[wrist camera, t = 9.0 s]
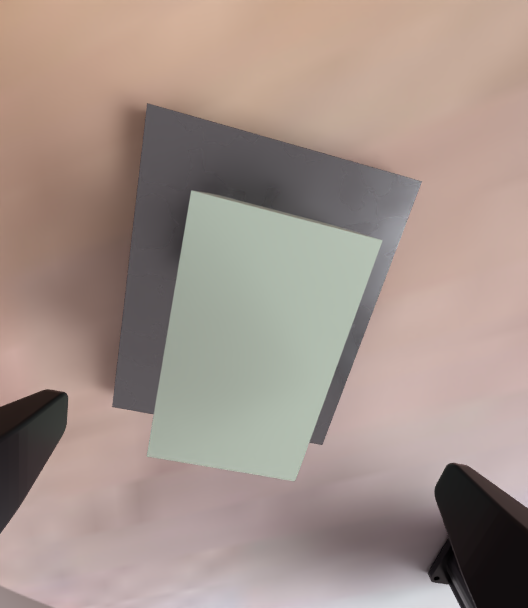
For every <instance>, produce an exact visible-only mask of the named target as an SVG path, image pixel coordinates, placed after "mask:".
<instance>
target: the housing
mask: <svg viewBox="0 0 528 608" xmlns="http://www.w3.org/2000/svg"><path fill="white" fill-rule="evenodd" d="M382 241H383V240H380V239H377V238H373V237H370V236H367V235H364V234H360V233H357V232H354V231H351V230H348V229H344V228H341V227H338V226H335V225H331V224H327V223H323V222H320V221H316V220H312V219H308V218H304V217H300V216H297V215H293V214H289V213H285V212H281V211H278V210H274V209H270V208H266V207H262V206H258V205H255V204H251V203H247V202H243V201H239V200H236V199H232V198H228V197H224V196H220V195H216V194H211V193H204V192H198V191H192V190H191V195H190V201H189V207H188V213H187V219H186V225H185V231H184V237H183V243H182V249H181V255H180V261H179V267H178V272H177V278H176V284H175V290H174V296H173V302H172V308H171V314H170V320H169V326H168V332H167V338H166V344H165V350H164V356H163V362H162V368H161V374H160V380H159V386H158V392H157V398H156V404H155V410H154V416H153V422H152V428H151V434H150V440H149V446H148V452H147V457H153V458H159V459H165V460H171V461H177V462H183V463H189V464H194V465H200V466H206V467H212V468H218V469H224V470H230V471H236V472H242V473H248V474H254V475H260V476H266V477H272V478H278V479H284V480H290V481H295V480H296V477H297V475H298V472H299V469H300V466H301V464H302V461H303V458H304V455H305V453H306V450H307V447H308V444H309V442H310V439H311V436H312V433H313V431H314V428H315V425H316V422H317V420H318V417H319V414H320V411H321V409H322V406H323V403H324V400H325V398H326V395H327V392H328V389H329V387H330V384H331V381H332V378H333V376H334V373H335V370H336V367H337V365H338V362H339V359H340V356H341V354H342V351H343V348H344V345H345V343H346V340H347V337H348V334H349V332H350V329H351V326H352V323H353V321H354V318H355V315H356V312H357V310H358V307H359V304H360V301H361V299H362V296H363V293H364V290H365V288H366V285H367V282H368V279H369V277H370V274H371V271H372V268H373V266H374V263H375V260H376V257H377V255H378V252H379V249H380V246H381V244H382Z"/></svg>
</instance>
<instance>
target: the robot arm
mask: <svg viewBox="0 0 528 608" xmlns="http://www.w3.org/2000/svg"><path fill="white" fill-rule="evenodd" d="M67 410H68V395H67V394H66V393H65V392H61V391H55V390H49V389H46V390H43V391H40V392H37V393H35V394H32V395H30V396H27V397H25V398H22V399H19V400H17V401H14V402H12V403H9V404H6V405H4V406H1V407H0V533H1V532H2V531H3V529H4V528H5V527H6V525H7V524H8V523H9V521H10V520H11V518H12V517H13V515H14V514H15V513H16V511H17V510H18V508H19V507H20V505H21V504H22V502H23V500H24V499H25V497H26V496H27V494H28V492H29V491H30V489H31V487H32V486H33V484H34V482H35V481H36V479H37V477H38V476H39V474H40V472H41V471H42V469H43V467H44V466H45V464H46V462H47V461H48V459H49V457H50V456H51V454H52V452H53V451H54V449H55V447H56V445H57V444H58V442H59V440H60V439H61V437H62V435H63V433H64V431H65V428H66V425H67ZM435 499H436V502H437V505H438V508H439V511H440V513H441V516H442V519H443V522H444V525H445V528H446V531H447V534H448V537H449V539H448V541H447V542H446V544H445V546H444V547H443V549H442V551H441V552H440V554H439V556H438V557H437V559H436V561H435V562H434V564H433V566H432V567H431V569H430V571H429V572H428V575H429V577H430V580H431V581H432V582H435V583H442V584H449V585H450V587H451V589H452V591H453V593H454V595H455V597H456V599H457V601H458V603H459V605H460V607H461V608H528V508H527V507H525V506H524V505H522V504H521V503H520V502H518V501H517V500H515V499H514V498H513V497H511V496H510V495H508V494H507V493H506V492H504V491H503V490H501V489H500V488H499V487H497V486H496V485H494V484H493V483H492V482H490V481H489V480H487V479H486V478H485V477H483V476H482V475H480V474H479V473H478V472H476V471H475V470H473V469H472V468H471V467H469V466H467V465H463V464H457V463H450V464H448V465H447V466H446V468H445V469H444V471H443V473H442V475H441V477H440V479H439V481H438V482H437V484H436V486H435Z"/></svg>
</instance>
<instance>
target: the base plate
mask: <svg viewBox="0 0 528 608" xmlns="http://www.w3.org/2000/svg"><path fill="white" fill-rule="evenodd" d="M421 183H422V181H419V180H415V179H412V178H408V177H405V176H401V175H397V174H394V173H390V172H387V171H383V170H380V169H376V168H373V167H369V166H366V165H362V164H359V163H355V162H352V161H348V160H345V159H341V158H338V157H334V156H331V155H327V154H324V153H320V152H317V151H313V150H310V149H306V148H303V147H299V146H296V145H292V144H289V143H285V142H282V141H278V140H274V139H271V138H267V137H264V136H260V135H257V134H253V133H250V132H246V131H243V130H239V129H236V128H232V127H229V126H225V125H222V124H218V123H215V122H211V121H208V120H204V119H201V118H197V117H194V116H190V115H187V114H183V113H180V112H176V111H173V110H169V109H166V108H162V107H158V106H155V105H151V104H148V103H147V110H146V119H145V128H144V136H143V145H142V154H141V162H140V171H139V180H138V188H137V197H136V206H135V214H134V223H133V232H132V240H131V249H130V258H129V267H128V275H127V284H126V293H125V301H124V310H123V319H122V327H121V336H120V345H119V353H118V362H117V371H116V380H115V388H114V397H113V406H112V407H116V408H121V409H127V410H132V411H138V412H144V413H149V414H154V410H155V404H156V398H157V392H158V386H159V380H160V374H161V368H162V362H163V356H164V350H165V344H166V338H167V332H168V326H169V320H170V314H171V308H172V302H173V296H174V290H175V284H176V278H177V272H178V267H179V261H180V255H181V249H182V243H183V237H184V231H185V225H186V219H187V213H188V207H189V201H190V195H191V190H192V191H198V192H204V193H211V194H216V195H220V196H224V197H228V198H232V199H236V200H239V201H243V202H247V203H251V204H255V205H258V206H262V207H266V208H270V209H274V210H278V211H281V212H285V213H289V214H293V215H297V216H300V217H304V218H308V219H312V220H316V221H320V222H323V223H327V224H331V225H335V226H338V227H341V228H344V229H348V230H351V231H354V232H357V233H360V234H364V235H367V236H370V237H373V238H377V239H380V240H383V241H382V244H381V246H380V249H379V252H378V255H377V257H376V260H375V263H374V266H373V268H372V271H371V274H370V277H369V279H368V282H367V285H366V288H365V290H364V293H363V296H362V299H361V301H360V304H359V307H358V310H357V312H356V315H355V318H354V321H353V323H352V326H351V329H350V332H349V334H348V337H347V340H346V343H345V345H344V348H343V351H342V354H341V356H340V359H339V362H338V365H337V367H336V370H335V373H334V376H333V378H332V381H331V384H330V387H329V389H328V392H327V395H326V398H325V400H324V403H323V406H322V409H321V411H320V414H319V417H318V420H317V422H316V425H315V428H314V431H313V433H312V436H311V439H310V442H309V443H314V444H320V445H322V444H323V442H324V439H325V436H326V434H327V431H328V428H329V426H330V423H331V420H332V418H333V415H334V413H335V410H336V407H337V405H338V402H339V399H340V397H341V394H342V391H343V389H344V386H345V383H346V381H347V378H348V375H349V373H350V370H351V368H352V365H353V362H354V360H355V357H356V354H357V352H358V349H359V346H360V344H361V341H362V338H363V336H364V333H365V331H366V328H367V325H368V323H369V320H370V317H371V315H372V312H373V309H374V307H375V304H376V301H377V299H378V296H379V294H380V291H381V288H382V286H383V283H384V280H385V278H386V275H387V272H388V270H389V267H390V264H391V262H392V259H393V257H394V254H395V251H396V249H397V246H398V243H399V241H400V238H401V235H402V233H403V230H404V227H405V225H406V222H407V220H408V217H409V214H410V212H411V209H412V206H413V204H414V201H415V198H416V196H417V193H418V190H419V188H420V185H421Z"/></svg>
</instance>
